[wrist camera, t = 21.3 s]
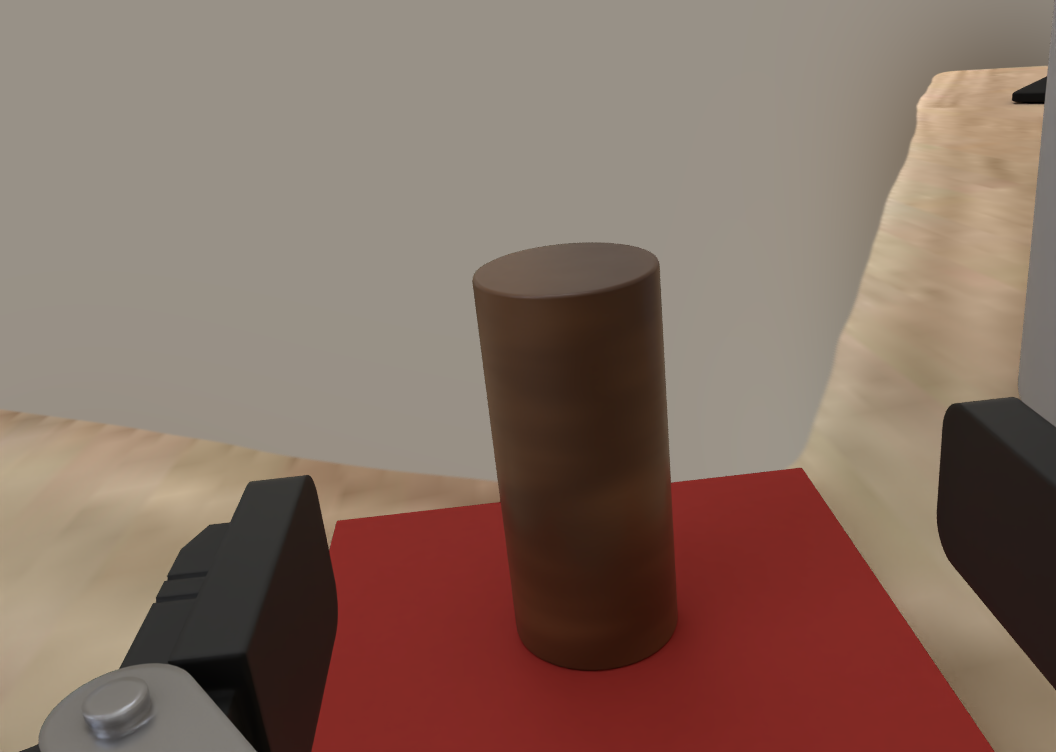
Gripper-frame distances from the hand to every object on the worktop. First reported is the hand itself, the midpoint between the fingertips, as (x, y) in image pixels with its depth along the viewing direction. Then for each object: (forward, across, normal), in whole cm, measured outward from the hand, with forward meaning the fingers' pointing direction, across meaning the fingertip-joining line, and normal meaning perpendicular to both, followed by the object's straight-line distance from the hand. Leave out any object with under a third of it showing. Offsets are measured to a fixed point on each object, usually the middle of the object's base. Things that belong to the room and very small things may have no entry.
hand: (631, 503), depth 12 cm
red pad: (+11, 0, +11) cm, 16 cm away
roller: (+11, 0, +10) cm, 15 cm away
